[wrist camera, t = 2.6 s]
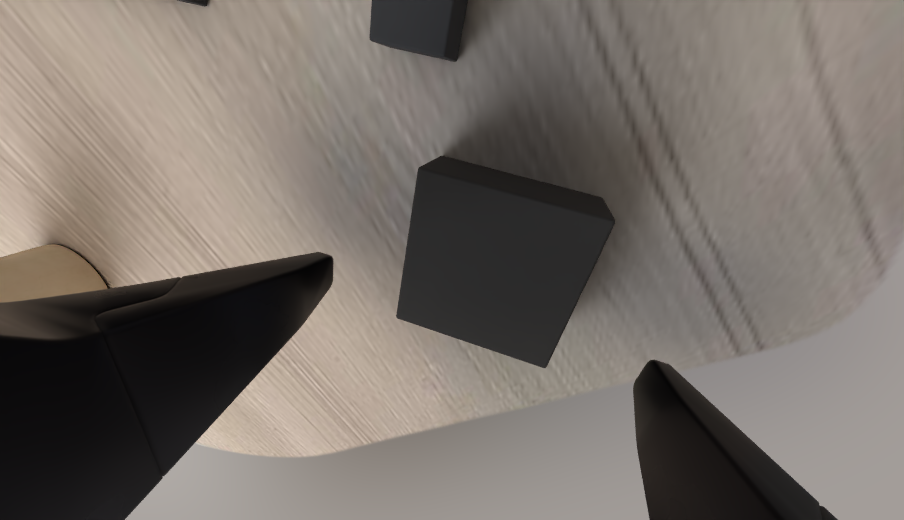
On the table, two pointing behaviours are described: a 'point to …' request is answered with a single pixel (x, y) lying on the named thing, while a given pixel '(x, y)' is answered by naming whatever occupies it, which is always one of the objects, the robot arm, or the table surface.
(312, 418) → the table surface
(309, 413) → the table surface
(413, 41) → the mat
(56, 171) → the table surface
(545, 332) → the black block
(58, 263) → the candle
